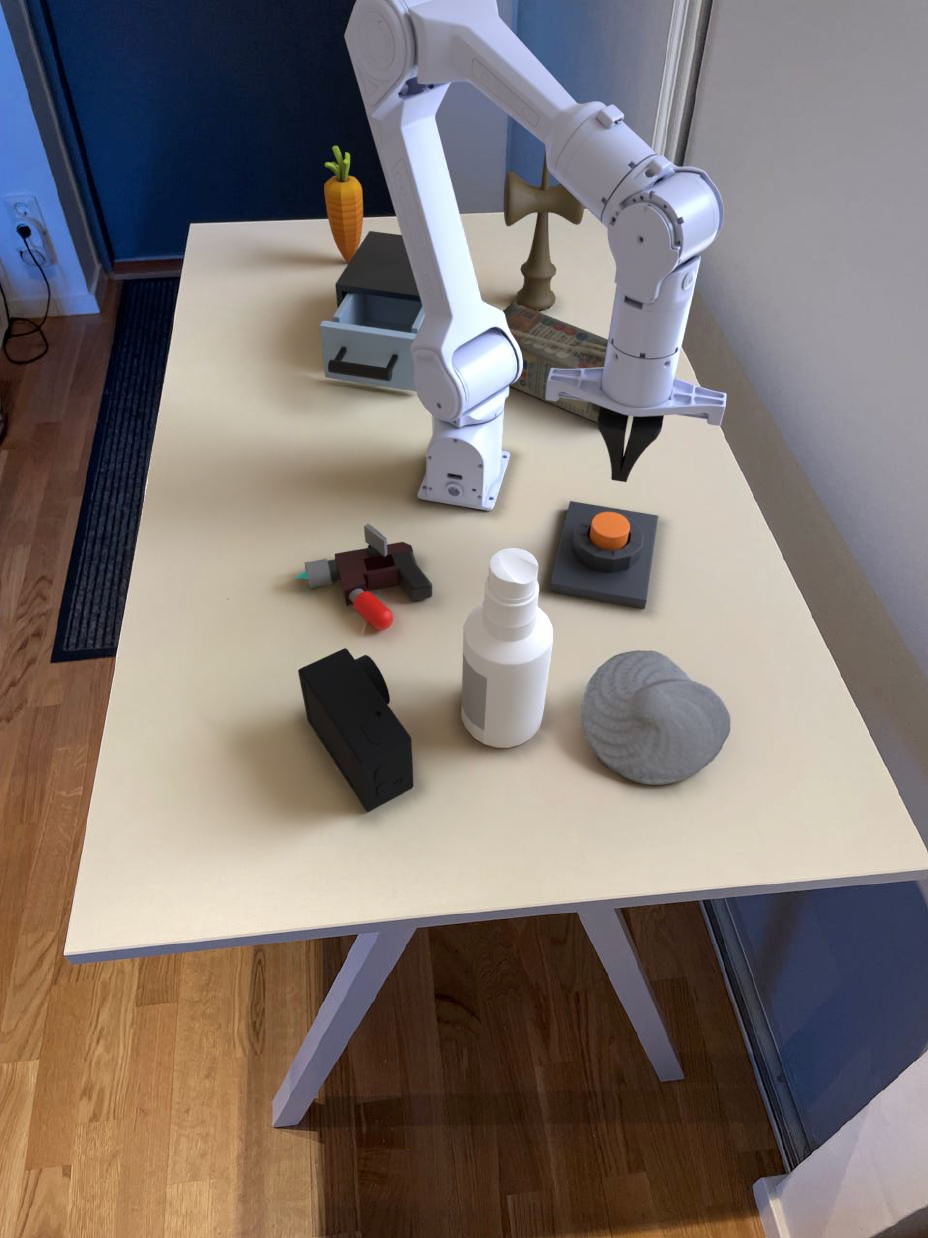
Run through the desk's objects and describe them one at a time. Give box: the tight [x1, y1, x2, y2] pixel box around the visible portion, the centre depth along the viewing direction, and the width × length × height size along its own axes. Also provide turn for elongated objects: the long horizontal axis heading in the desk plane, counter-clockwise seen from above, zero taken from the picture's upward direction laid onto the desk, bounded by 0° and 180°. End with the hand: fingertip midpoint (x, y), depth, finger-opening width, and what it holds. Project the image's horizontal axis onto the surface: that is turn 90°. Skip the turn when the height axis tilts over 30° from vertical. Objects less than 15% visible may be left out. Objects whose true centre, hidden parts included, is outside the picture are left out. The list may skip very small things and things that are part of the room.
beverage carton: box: [502, 302, 608, 423], centre depth 106 cm, size 8×19×7 cm, turn 55°
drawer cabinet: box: [334, 230, 421, 309], centre depth 113 cm, size 14×13×9 cm
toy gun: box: [295, 523, 433, 631], centre depth 84 cm, size 10×12×5 cm
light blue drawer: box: [319, 292, 425, 392], centre depth 107 cm, size 17×11×7 cm
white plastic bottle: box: [461, 547, 554, 749], centre depth 70 cm, size 7×7×18 cm
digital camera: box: [297, 647, 415, 813], centre depth 72 cm, size 10×5×7 cm, turn 33°
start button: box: [590, 512, 630, 550], centre depth 87 cm, size 4×4×2 cm
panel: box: [549, 500, 659, 610], centre depth 89 cm, size 12×9×3 cm
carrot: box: [323, 145, 364, 264], centre depth 122 cm, size 5×5×15 cm
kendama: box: [503, 148, 586, 311], centre depth 114 cm, size 6×10×20 cm, turn 91°
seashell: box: [580, 649, 732, 786], centre depth 74 cm, size 12×6×10 cm
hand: (620, 474), depth 82 cm, fingers closed
